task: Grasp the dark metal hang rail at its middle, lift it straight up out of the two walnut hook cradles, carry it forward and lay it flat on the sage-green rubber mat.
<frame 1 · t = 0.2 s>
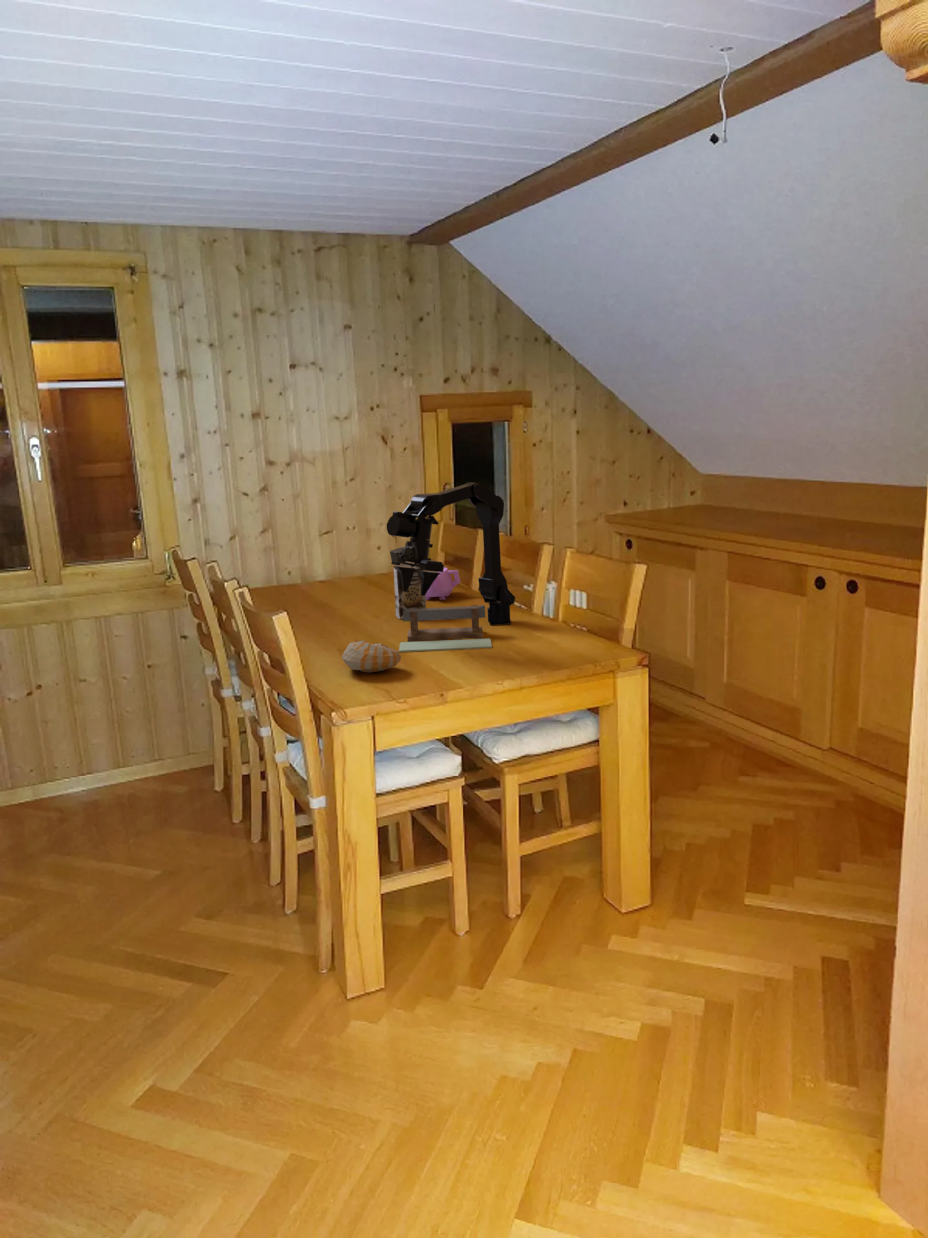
hand: (413, 593, 266), 15 cm above the table, tool pointing down, fingers open, 9 cm apart
nautilus: (370, 669, 247), on the table
hang rail: (444, 618, 275), point 5 cm above the table, touching hook stand
hook stand: (445, 636, 276), on the table
rubber mat: (445, 646, 266), on the table
cookie box: (411, 617, 304), on the table
pink piggy bank: (436, 598, 331), on the table
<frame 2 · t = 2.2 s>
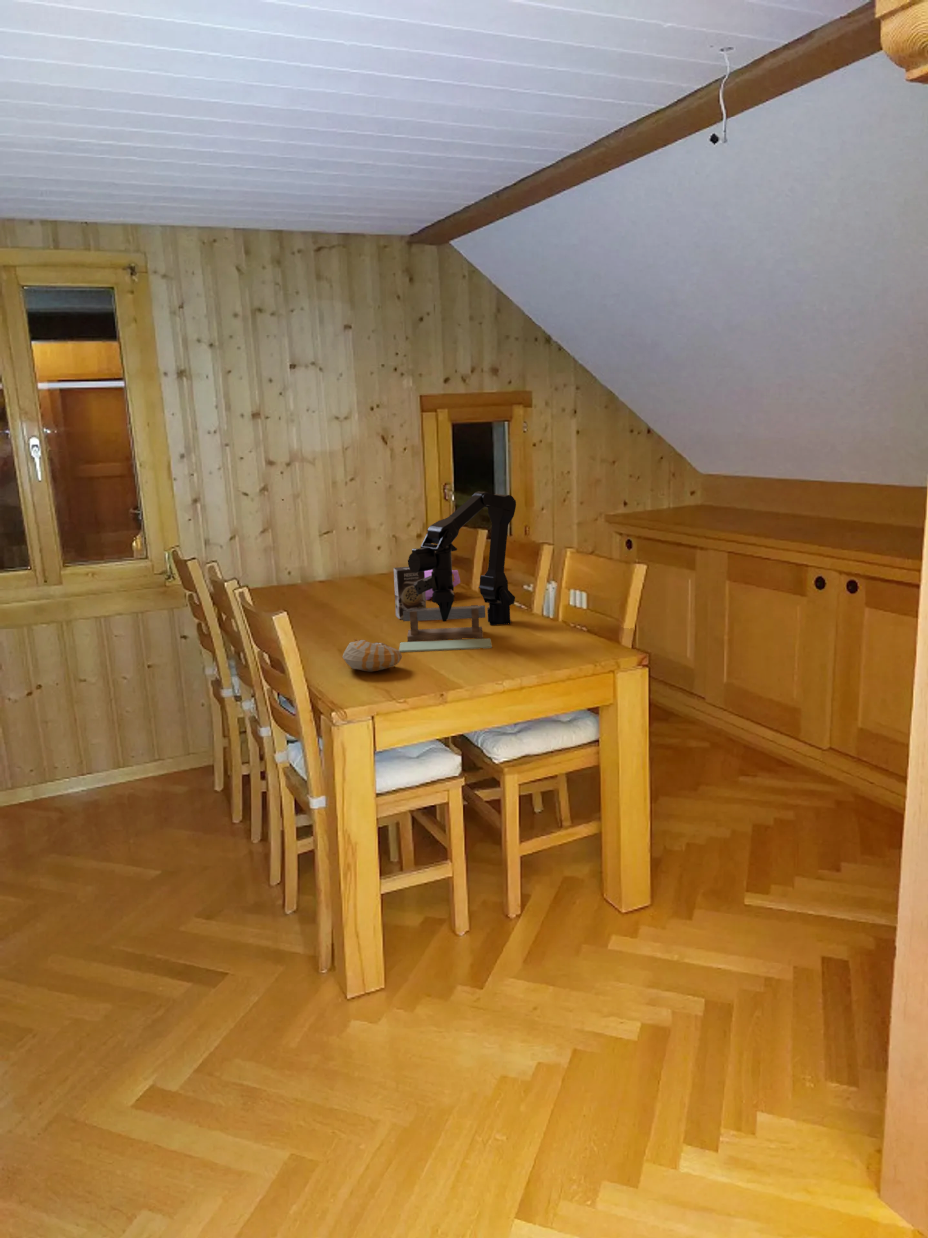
hand: (444, 619, 275), 5 cm above the table, tool pointing down, fingers closed on hang rail, 3 cm apart
hang rail: (444, 618, 275), point 5 cm above the table, touching gripper, hook stand
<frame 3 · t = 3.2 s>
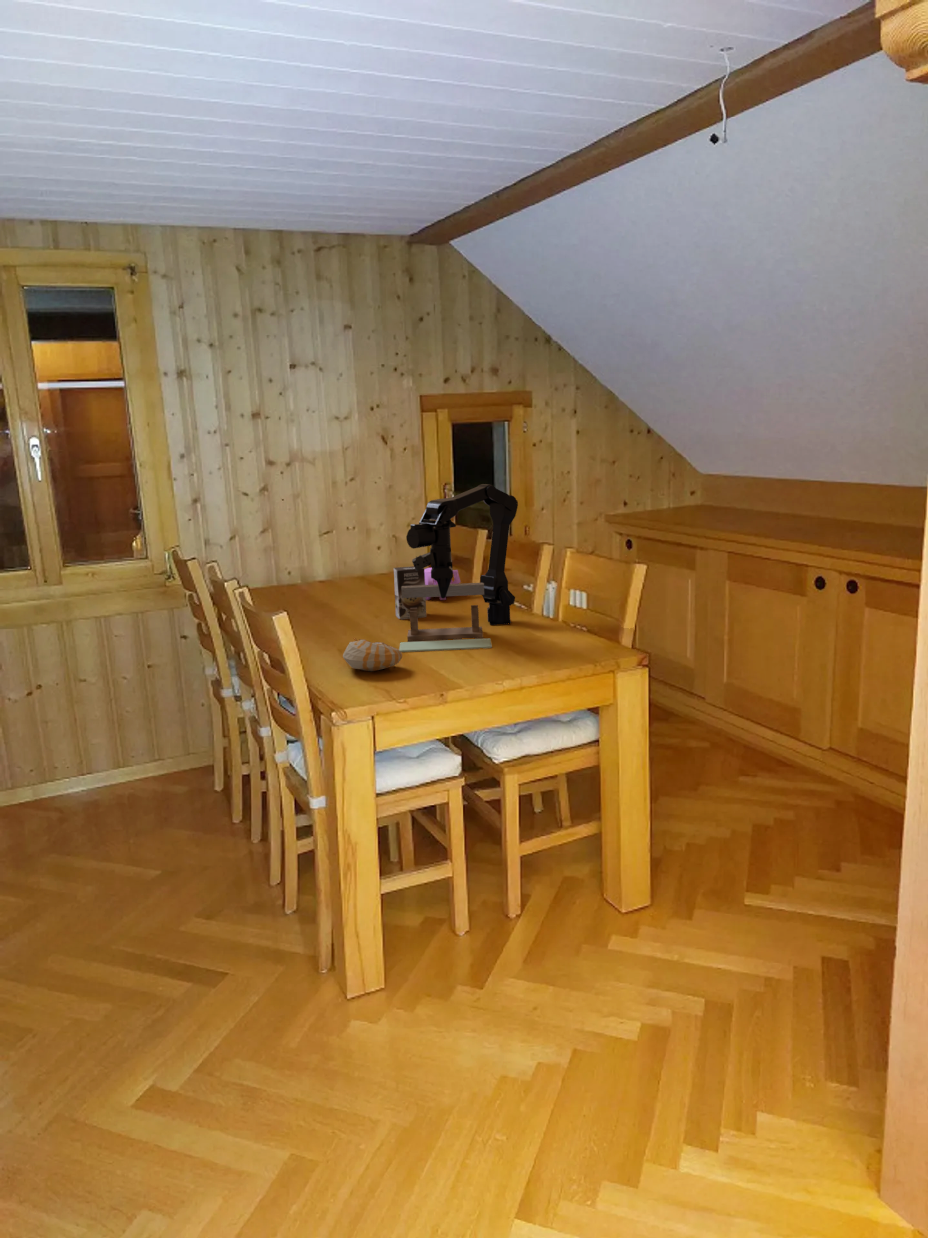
hand: (443, 596, 274), 12 cm above the table, tool pointing down, fingers closed on hang rail, 3 cm apart
hang rail: (443, 595, 273), point 12 cm above the table, touching gripper
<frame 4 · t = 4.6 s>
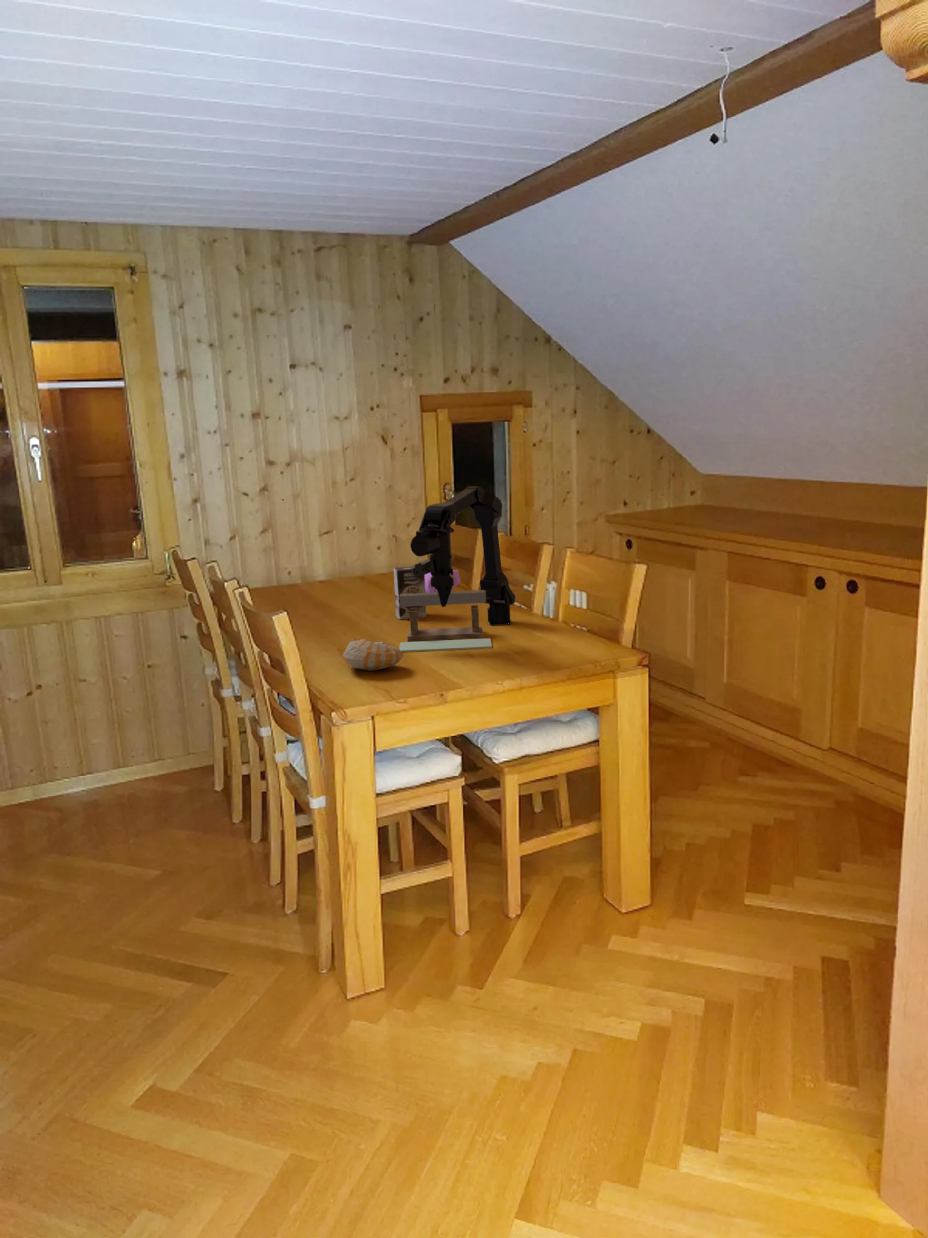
hand: (443, 605, 263), 12 cm above the table, tool pointing down, fingers closed on hang rail, 3 cm apart
hang rail: (443, 603, 263), point 12 cm above the table, touching gripper
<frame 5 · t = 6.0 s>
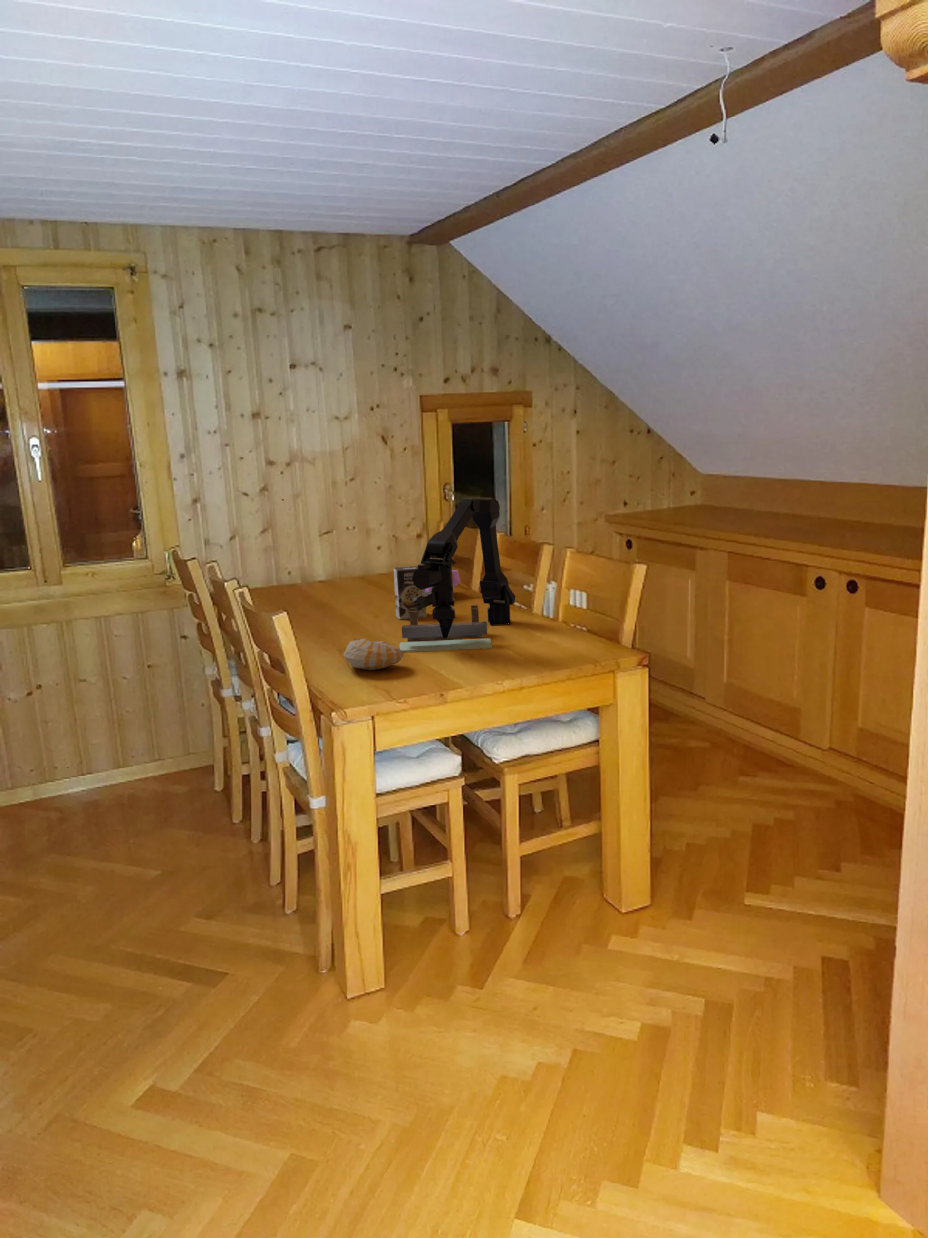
hand: (445, 636, 265), 3 cm above the table, tool pointing down, fingers closed on hang rail, 3 cm apart
hang rail: (444, 635, 265), point 3 cm above the table, touching gripper
when the fingers open (1 cm above the table, at t = 7.0 s): hang rail drops 1 cm, resting on rubber mat.
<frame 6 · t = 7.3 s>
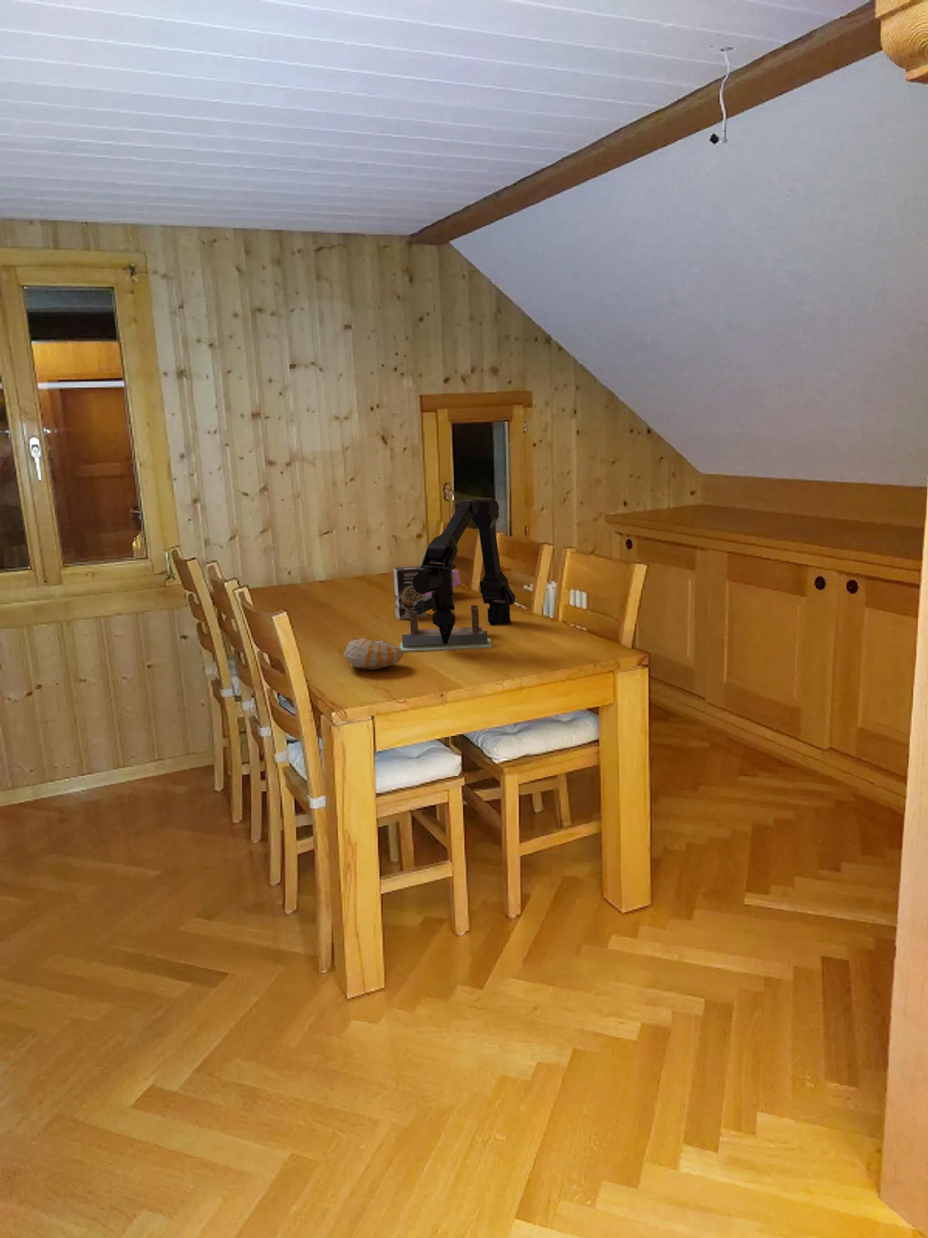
hand: (445, 640, 265), 1 cm above the table, tool pointing down, fingers open, 6 cm apart
hang rail: (445, 644, 266), resting on rubber mat
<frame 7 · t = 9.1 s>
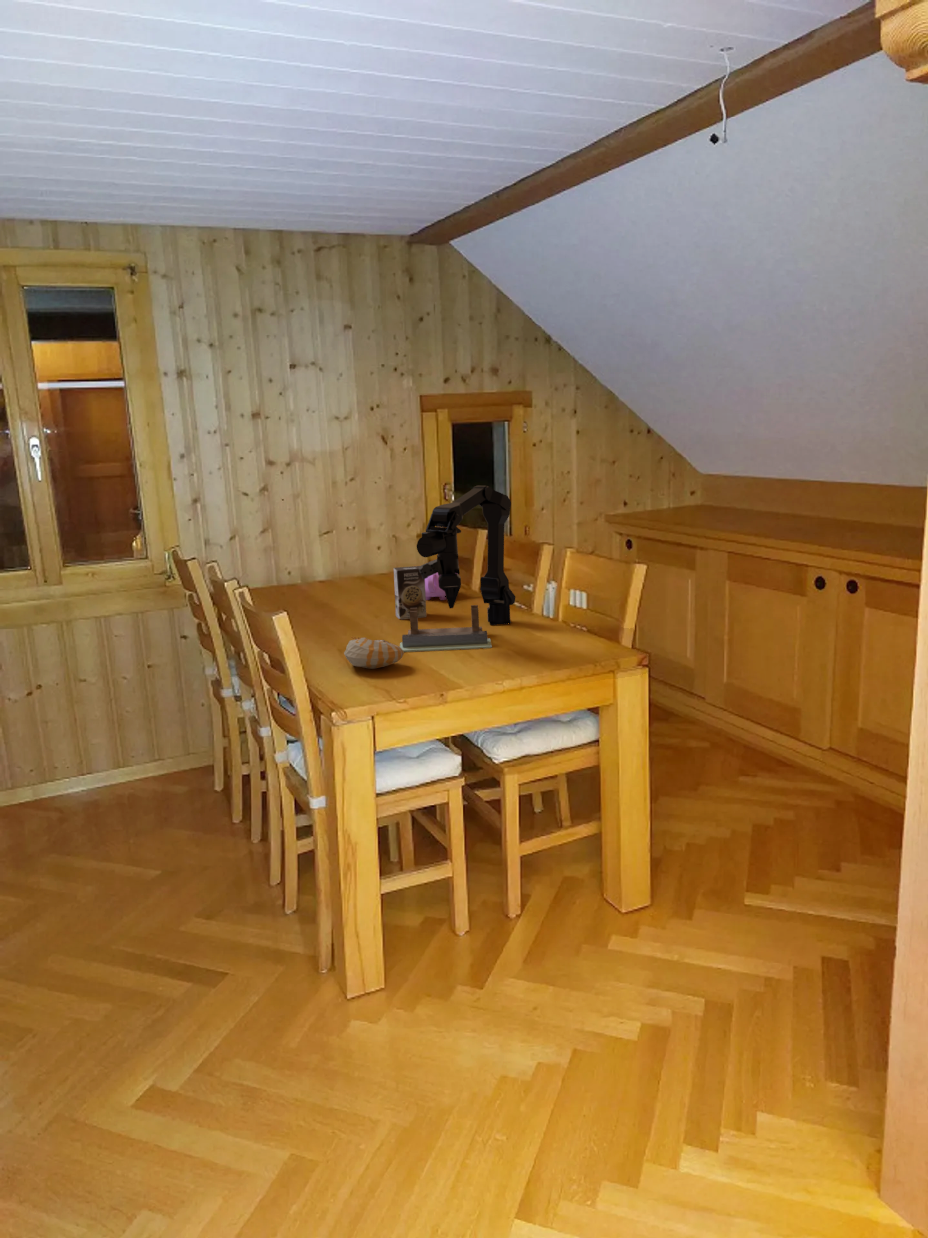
hand: (451, 604, 269), 11 cm above the table, tool pointing down, fingers open, 9 cm apart
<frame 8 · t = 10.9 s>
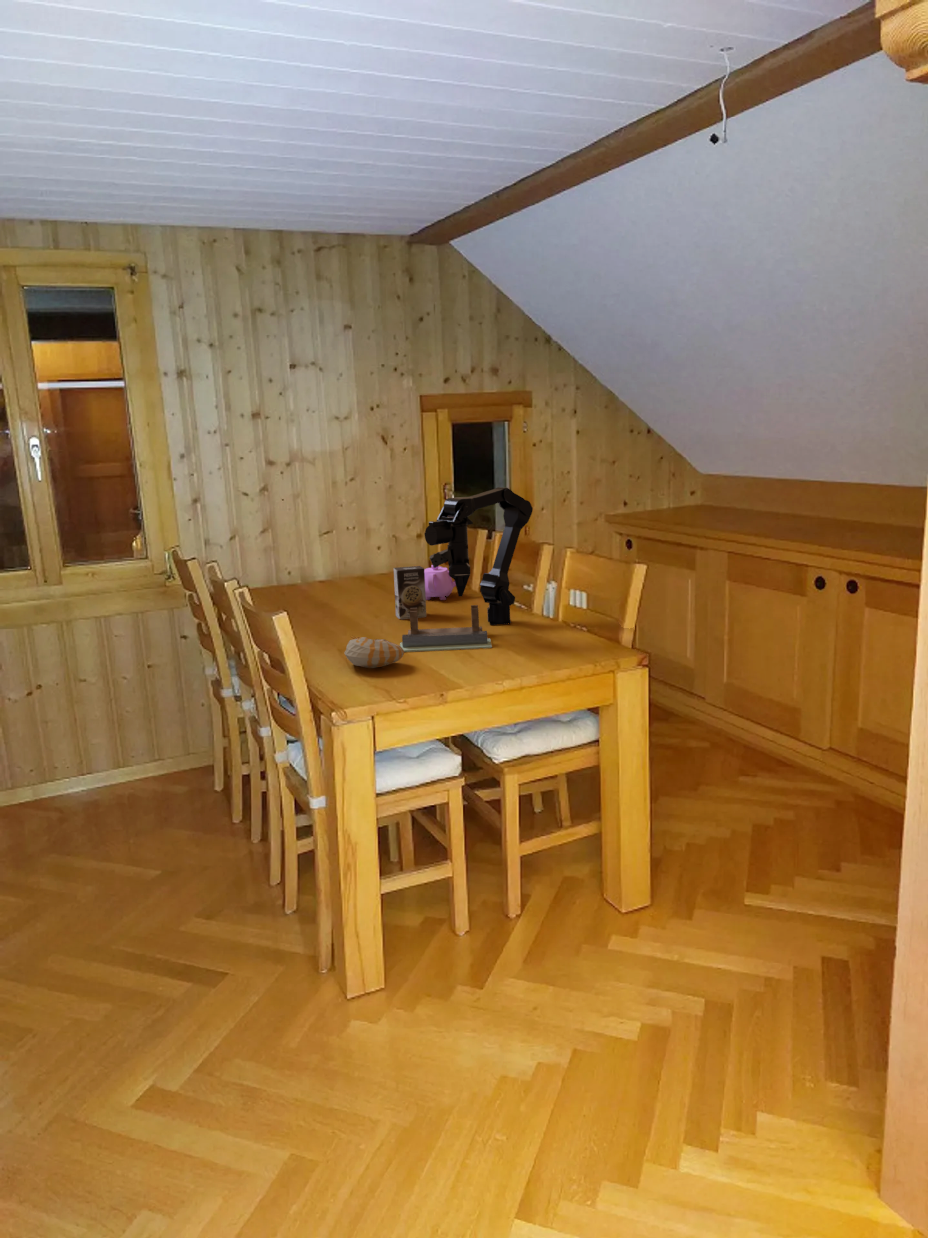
hand: (460, 593, 278), 12 cm above the table, tool pointing down, fingers open, 9 cm apart
at the end: hang rail inside the target area (0.0 cm from its centre), point 0.5 cm above the table; hang rail tilted 0°; the gripper is holding nothing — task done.
